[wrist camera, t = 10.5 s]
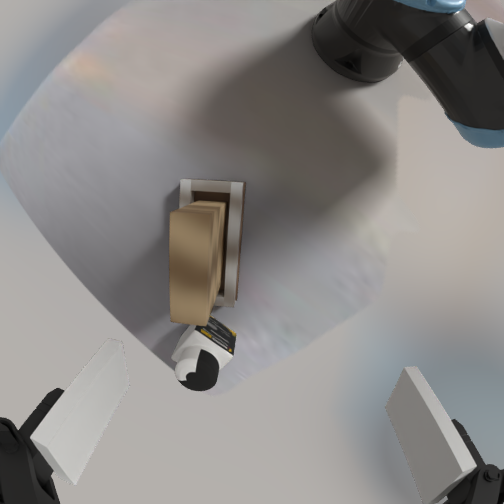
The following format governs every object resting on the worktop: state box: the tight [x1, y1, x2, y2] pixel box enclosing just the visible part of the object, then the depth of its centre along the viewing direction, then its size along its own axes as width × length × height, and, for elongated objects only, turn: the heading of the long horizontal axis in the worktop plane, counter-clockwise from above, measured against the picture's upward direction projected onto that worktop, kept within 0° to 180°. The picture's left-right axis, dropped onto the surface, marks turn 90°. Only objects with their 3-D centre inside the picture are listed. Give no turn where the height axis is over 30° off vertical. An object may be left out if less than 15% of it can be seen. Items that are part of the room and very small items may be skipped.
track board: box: [179, 179, 246, 307], centre depth 41 cm, size 18×9×4 cm, turn 175°
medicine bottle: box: [171, 315, 236, 391], centre depth 42 cm, size 7×7×12 cm
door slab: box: [169, 200, 227, 326], centre depth 35 cm, size 12×4×14 cm, turn 175°
